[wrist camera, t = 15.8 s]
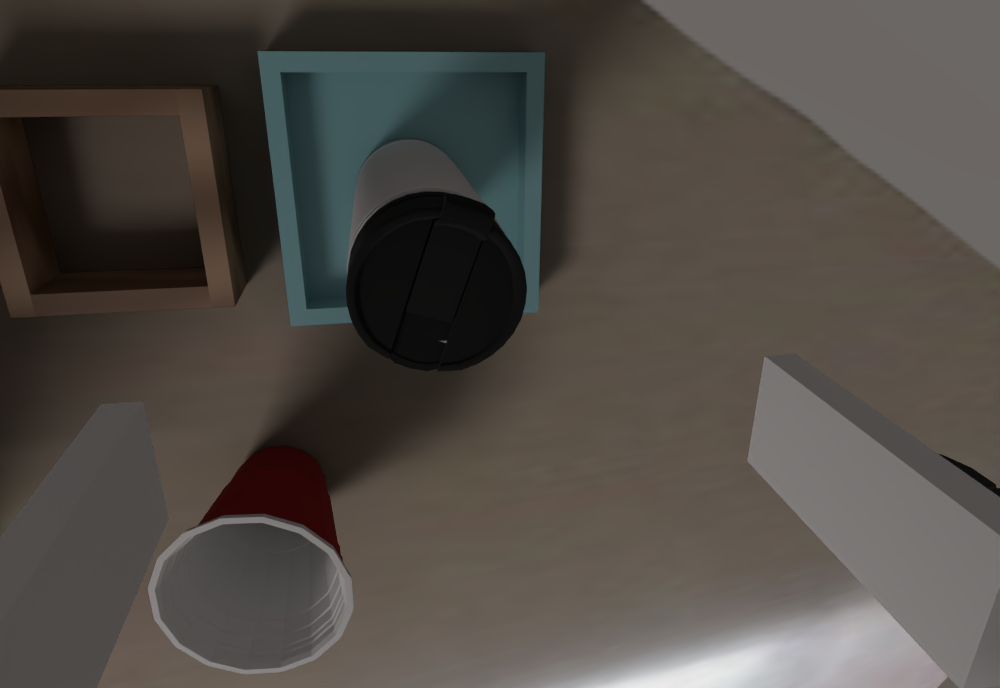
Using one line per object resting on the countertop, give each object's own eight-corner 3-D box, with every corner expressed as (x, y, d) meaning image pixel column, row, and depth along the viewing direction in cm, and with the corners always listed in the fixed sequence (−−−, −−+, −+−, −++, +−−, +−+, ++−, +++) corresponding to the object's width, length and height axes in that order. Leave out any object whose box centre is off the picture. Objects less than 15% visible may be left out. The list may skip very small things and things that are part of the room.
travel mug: (477, 151, 41) (562, 231, 23) (443, 255, 43) (496, 404, 25) (373, 115, 39) (376, 171, 21) (343, 225, 41) (322, 362, 23)
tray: (528, 296, 46) (538, 312, 43) (295, 309, 44) (290, 326, 41) (533, 52, 40) (545, 52, 38) (265, 51, 38) (257, 51, 35)
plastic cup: (200, 402, 45) (146, 513, 34) (368, 420, 48) (368, 529, 37) (190, 538, 49) (139, 678, 38) (346, 548, 51) (340, 682, 40)
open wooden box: (246, 284, 43) (235, 306, 39) (42, 294, 41) (10, 318, 37) (217, 85, 38) (201, 88, 35) (-13, 86, 36) (-55, 90, 33)
